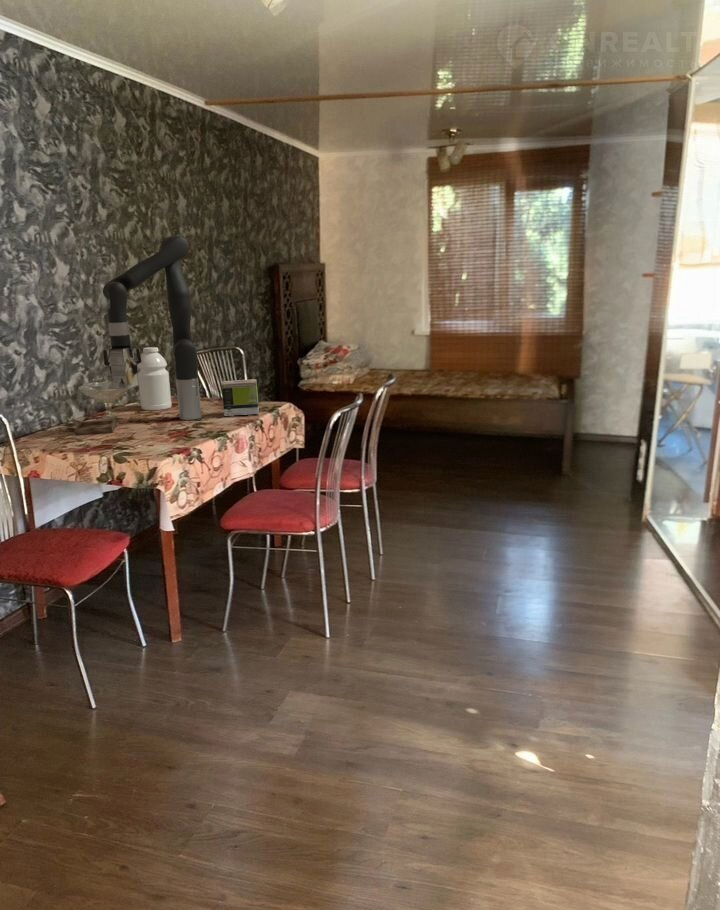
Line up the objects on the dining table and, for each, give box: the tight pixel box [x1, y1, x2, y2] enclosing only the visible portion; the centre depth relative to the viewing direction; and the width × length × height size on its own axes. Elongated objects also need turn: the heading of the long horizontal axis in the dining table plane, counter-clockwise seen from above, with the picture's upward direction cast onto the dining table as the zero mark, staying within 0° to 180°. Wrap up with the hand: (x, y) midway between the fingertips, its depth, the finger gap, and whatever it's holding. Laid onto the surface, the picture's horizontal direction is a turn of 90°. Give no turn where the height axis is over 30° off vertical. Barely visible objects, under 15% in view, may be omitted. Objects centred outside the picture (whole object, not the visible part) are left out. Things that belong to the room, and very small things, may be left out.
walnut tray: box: [73, 419, 117, 436], centre depth 280 cm, size 14×14×2 cm
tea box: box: [221, 378, 260, 417], centre depth 304 cm, size 15×10×15 cm
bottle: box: [137, 346, 173, 411], centre depth 321 cm, size 14×14×28 cm
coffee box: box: [108, 345, 139, 390], centre depth 278 cm, size 9×6×16 cm
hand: (124, 374), depth 278 cm, fingers closed on coffee box, 8 cm apart
